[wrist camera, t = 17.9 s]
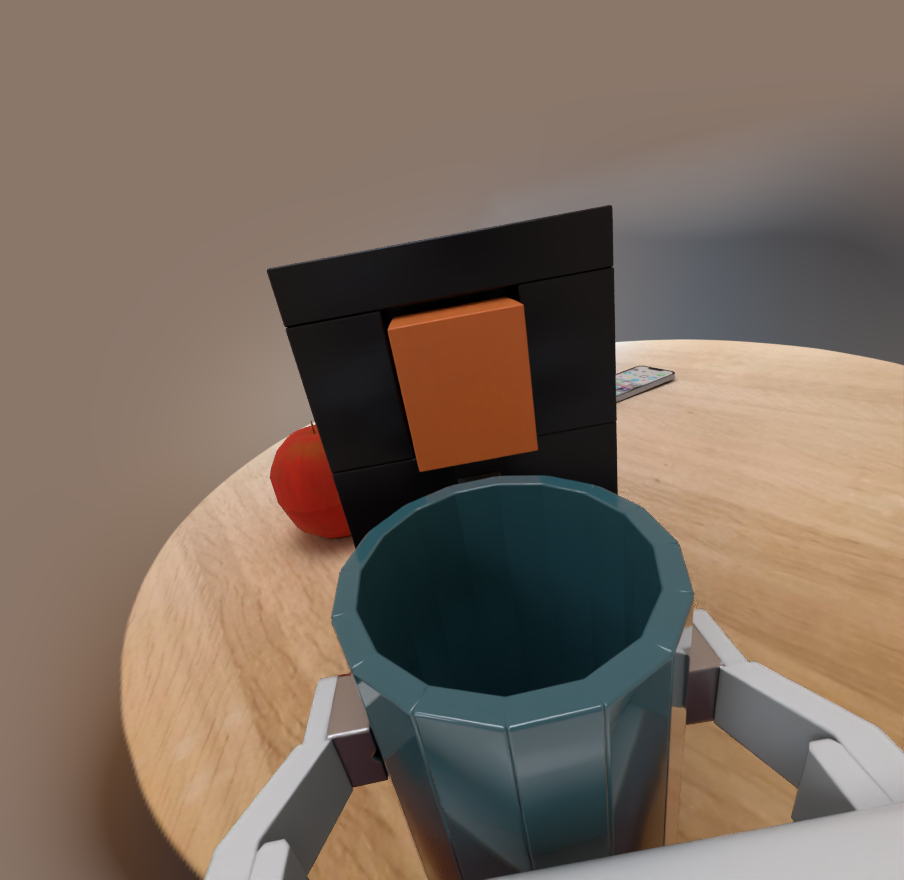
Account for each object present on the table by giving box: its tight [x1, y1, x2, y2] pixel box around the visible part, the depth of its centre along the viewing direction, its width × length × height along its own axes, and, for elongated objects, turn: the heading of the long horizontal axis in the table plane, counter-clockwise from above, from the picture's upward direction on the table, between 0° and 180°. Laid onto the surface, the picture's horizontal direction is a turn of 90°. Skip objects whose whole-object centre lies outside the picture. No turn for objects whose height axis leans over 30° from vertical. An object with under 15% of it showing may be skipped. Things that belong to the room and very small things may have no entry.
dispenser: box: [267, 205, 618, 549], centre depth 22 cm, size 14×12×24 cm
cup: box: [331, 475, 694, 880], centre depth 11 cm, size 7×7×9 cm
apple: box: [270, 422, 351, 538], centre depth 42 cm, size 10×10×12 cm
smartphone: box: [616, 366, 675, 402], centre depth 66 cm, size 7×1×15 cm
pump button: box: [388, 296, 538, 472], centre depth 16 cm, size 3×4×5 cm
